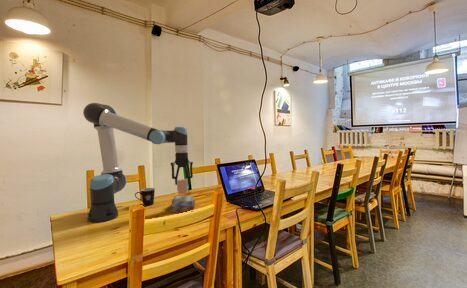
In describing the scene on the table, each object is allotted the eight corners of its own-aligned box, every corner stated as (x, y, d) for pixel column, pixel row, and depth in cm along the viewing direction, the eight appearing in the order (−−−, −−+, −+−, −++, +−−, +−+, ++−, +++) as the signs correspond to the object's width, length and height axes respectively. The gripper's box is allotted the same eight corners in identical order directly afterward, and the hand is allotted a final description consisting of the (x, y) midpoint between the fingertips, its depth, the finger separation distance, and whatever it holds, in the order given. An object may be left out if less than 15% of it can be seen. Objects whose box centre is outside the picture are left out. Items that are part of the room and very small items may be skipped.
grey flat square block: (169, 212, 144) (169, 202, 144) (173, 205, 158) (172, 196, 158) (193, 211, 145) (193, 201, 145) (195, 204, 159) (194, 195, 159)
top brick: (178, 194, 148) (177, 180, 148) (179, 191, 153) (178, 179, 153) (186, 193, 149) (186, 180, 148) (187, 191, 154) (186, 179, 153)
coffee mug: (157, 202, 165) (156, 187, 164) (151, 206, 156) (151, 191, 155) (140, 202, 166) (140, 187, 165) (134, 206, 157) (133, 190, 157)
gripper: (165, 153, 145) (166, 191, 146) (196, 152, 147) (197, 190, 148) (167, 152, 152) (168, 188, 154) (196, 151, 154) (197, 187, 156)
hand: (182, 189), depth 151 cm, fingers closed on top brick, 5 cm apart
